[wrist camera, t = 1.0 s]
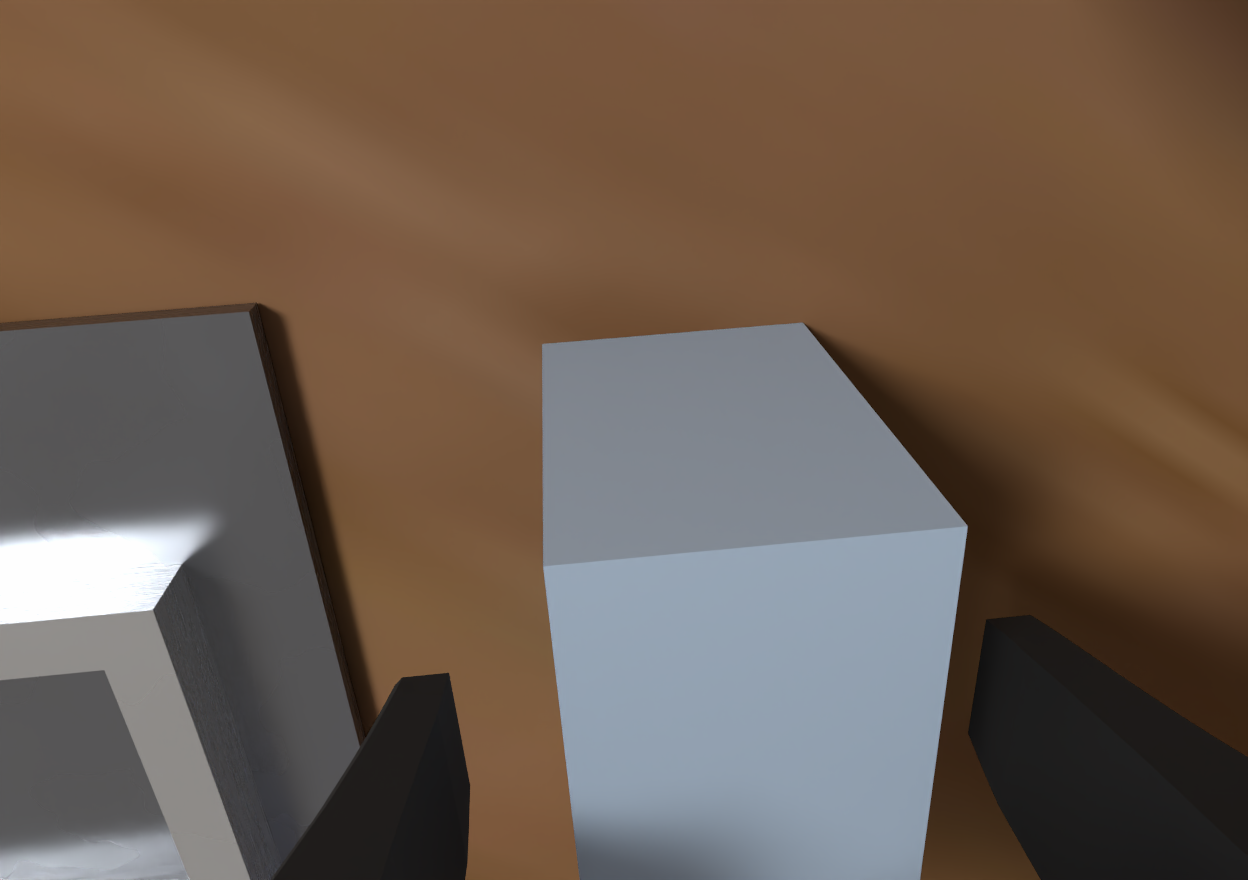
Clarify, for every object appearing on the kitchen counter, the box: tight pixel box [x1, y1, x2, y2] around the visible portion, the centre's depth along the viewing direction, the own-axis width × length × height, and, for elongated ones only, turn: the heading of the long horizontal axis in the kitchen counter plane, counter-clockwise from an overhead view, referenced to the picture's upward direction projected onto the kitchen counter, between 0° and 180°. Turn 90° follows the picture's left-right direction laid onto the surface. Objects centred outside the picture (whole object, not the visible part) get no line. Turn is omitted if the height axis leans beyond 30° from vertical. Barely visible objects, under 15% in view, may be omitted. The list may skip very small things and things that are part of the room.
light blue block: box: [542, 323, 968, 880], centre depth 13 cm, size 8×4×6 cm, turn 3°
